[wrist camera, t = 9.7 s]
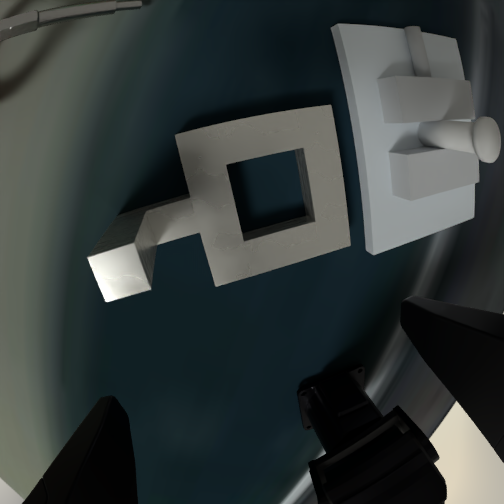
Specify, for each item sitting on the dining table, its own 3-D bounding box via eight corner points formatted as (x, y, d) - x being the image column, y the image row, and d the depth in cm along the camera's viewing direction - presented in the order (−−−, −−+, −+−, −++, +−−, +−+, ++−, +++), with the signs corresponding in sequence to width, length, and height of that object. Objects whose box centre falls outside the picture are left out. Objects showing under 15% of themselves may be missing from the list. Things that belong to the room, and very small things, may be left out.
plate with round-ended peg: (466, 214, 24) (524, 238, 17) (366, 250, 22) (428, 291, 16) (447, 40, 18) (510, 31, 11) (330, 27, 16) (394, -7, 10)
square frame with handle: (146, 295, 19) (138, 365, 13) (100, 158, 16) (58, 170, 9) (339, 238, 21) (401, 280, 15) (320, 106, 18) (388, 97, 11)
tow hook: (-34, 51, 10) (-38, -9, 5) (94, 15, 16) (136, -40, 11) (-24, 136, 12) (-36, 100, 7) (109, 88, 19) (156, 46, 13)
